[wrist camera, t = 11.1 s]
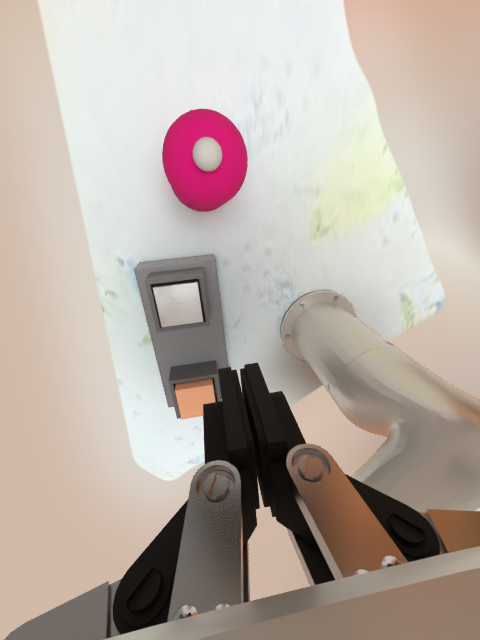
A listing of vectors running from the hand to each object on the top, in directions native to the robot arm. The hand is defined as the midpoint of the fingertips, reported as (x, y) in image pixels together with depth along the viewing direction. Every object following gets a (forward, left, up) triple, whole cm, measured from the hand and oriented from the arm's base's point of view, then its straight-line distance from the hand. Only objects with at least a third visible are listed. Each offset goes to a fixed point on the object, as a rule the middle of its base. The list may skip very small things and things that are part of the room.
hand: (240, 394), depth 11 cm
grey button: (0, +6, -24) cm, 25 cm away
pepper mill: (+8, -6, -29) cm, 31 cm away
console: (-6, +9, -29) cm, 31 cm away
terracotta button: (-12, +13, -23) cm, 30 cm away
